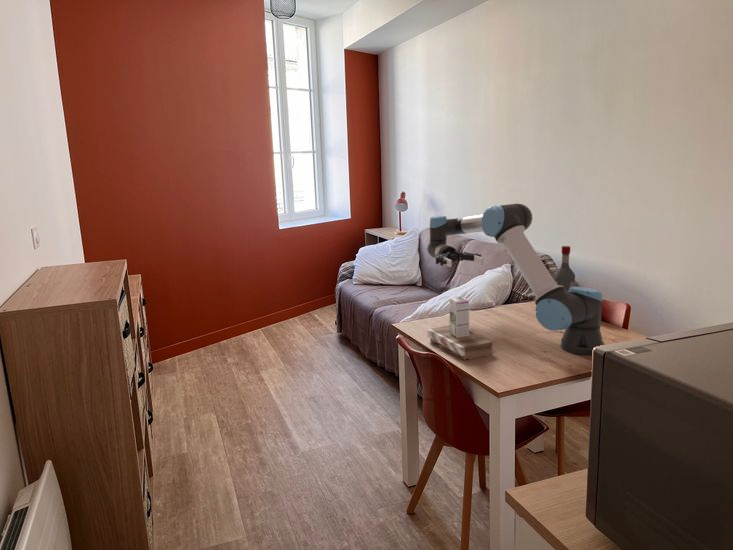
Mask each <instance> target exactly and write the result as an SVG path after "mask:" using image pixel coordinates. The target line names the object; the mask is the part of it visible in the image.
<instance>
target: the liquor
mask: <svg viewBox="0 0 733 550" xmlns="http://www.w3.org/2000/svg"><path fill="white" fill-rule="evenodd" d="M570 254H571V246H569V245H563V246H561V265H560V267H559V268H558V269H557V270H556V271H555V273H554V275H553V279H554V281H555V282H556V284H557V285H561V286H564V288H565V289H566V291H567V292H568V291H569V288H570V287H576V286H575V284H576V275H575V272H574V271H573V270H572V268H571V267H570V263H569V262H570ZM568 294H569V292H568Z"/></svg>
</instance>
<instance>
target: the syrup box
mask: <svg viewBox="0 0 733 550" xmlns="http://www.w3.org/2000/svg"><path fill="white" fill-rule="evenodd" d="M449 325H450V334H451V335H453V336H454V337H456V338H461V337H468V336H469V331H470V300H469V299H468V298H466V297H465V296H456V297H455V296H454V297H449Z"/></svg>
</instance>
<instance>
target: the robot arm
mask: <svg viewBox="0 0 733 550" xmlns="http://www.w3.org/2000/svg"><path fill="white" fill-rule="evenodd" d="M532 221H533V213H532V211H531V208H529V207H528V206H526V205H525V204H523V203H509V204H502V205H501V204H496V205H493V206H489V207H487V208H486V209H485V211H484V212H483V213H482V214H476V215H471V216H465V217H463V216H462V217H459V218H458V217H457V218H447V216H446V215H433V216H430V219H429V243H427V246H426V251H427V253H428V255H429V256H431V257H432V258H433V259H435V264H436V265H440V266H442V267H443V266H444V265H445V266H447V267H449V268H453V267H452V266H453V263H454V262H457V261H458V262H462V261H470V262H474V263H476V264H479V265H484V257H482V254H481V253H479V254H478V253H472V252H466V251H463V252H459V251H457V249H456V248H455V247H453V246H450V245H448V244H447V238H448V237H447V236H456V235H467V234H472V233H481V232H483V233H484V234H485V235H486V236H487V237H490V238H494V239H495V241H496V243H497V244H498V245H500V246H504V248H505V249H506V250H507V252H508V255H510V257H511V259H512V261H513V262H514V265H515V266H516V267H517V268H518V270H519V272H520V273H521V275H522V276H523V278H524V280H525V282H527V285H528V286H529V287H530V290H531V291H532V293H533V294H534V296H535V299H534V304H535V305H536V306H535V309H534V310H535V317H536V319H537V321H538V323H539V325H541V326H542V327H543V328H544V329H547V330H549V331H554V332H555V331H564V333H563V335H562V337H561V340H560V347H561V348H562V350H563V351H566V352H568V353H573V354H576V353H577V355H584V354H588V356H589V354H591V355H592V350H593V348H594V347H596V346H600V345H604V346H605V343H604V340H603V336H602V332H601V323H602V309H603V302H604V301H603V292H601V291H600V290H598V289H596V288H595V289H594V288H592V287H591V288H589V287H583V286H575V287H570V288H569V291H568V292H569V294H568V292H567V291H566V289H565V288H564V286H561V285H557V284H556V282H555V281H554V277H553V276H552V275H551V273H550V272H549V270H548V269H547V267H546V266H545V264H544V263H543V261H542V259H541V257H540V256H539V255H538V252H536V250H535V249H534V247H533V245H532V244H531V243H530V241H529V239H528V237H527V236H526V234H525V231H526V230H528V229H529V227H530V226H531V225H532ZM591 355H590V356H591Z"/></svg>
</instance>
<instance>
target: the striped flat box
mask: <svg viewBox="0 0 733 550" xmlns="http://www.w3.org/2000/svg"><path fill="white" fill-rule="evenodd" d="M427 337H428V338H429V339H430V340H431V341H430V340H429V341H430V342H432V341H433V342H435V343H436V344H435V343H434V344H435V345H437V344H438V345H440V346H441V347H440V346H439V347H440V348H442V347H443V348H442V349H444V348H445V349H446V351H447V350H448V351H447V352H449V351H450V352H449V353H451V352H452V353H453V355H454V354H455V355H454V356H456V355H457V356H456V357H458V356H459V357H461V358H462V359H461V358H460V359H461V360H463V359H464V360H465V361H467V360H466V359H470V360H473V358H474V359H478V357H479V358H483V357H487V356H492V355H493V341H491V340H489V339H487V338H485V337H482V336H480V335H479V334H477V333H474V332H472V331H470V330H469V336H468V337H461V338H456V337H454V336H453V335H451V334H450V324H449V325H445V326H439V327H433V328H428V329H427ZM433 342H432V343H433ZM438 345H437V346H438ZM445 349H444V350H445ZM452 353H451V354H452ZM459 357H458V358H459ZM464 360H463V361H464Z"/></svg>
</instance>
